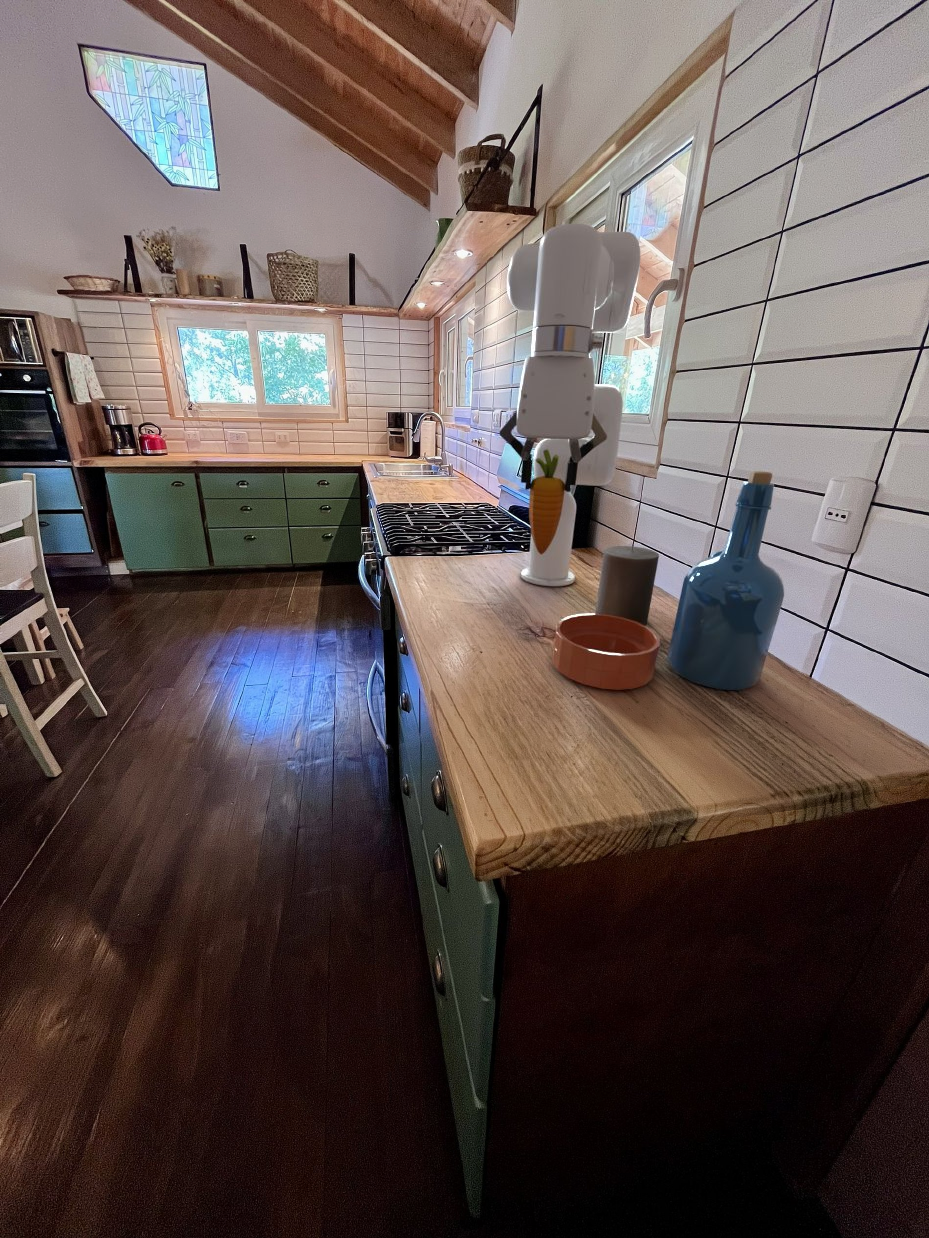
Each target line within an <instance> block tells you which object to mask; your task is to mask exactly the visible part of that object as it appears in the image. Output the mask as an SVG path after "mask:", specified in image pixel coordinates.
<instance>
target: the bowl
mask: <svg viewBox="0 0 929 1238" xmlns="http://www.w3.org/2000/svg"><path fill="white" fill-rule="evenodd" d="M554 627H555V629H554V637H553V646H552V655H551V658H552V665H553V666H554V667H555V669H556V670H557V671H558V672H559V673H560V674H562V675H563V676H565V677H566V678H568V679H570V680H572V681H575V682H577V683H580V684H581V685H586V686H589V687H594V688H598V689H604V690H615V691H621V690H632V689H637V688H640V687H642V686H645V685H647V684H648V683H650V682H651V681H652V680H653V678H654V674H655V669H656V664H657V660H658V655H659V650H660V649H659V648H660V645H661V639H660V637H659V635H658V633H656V632H655V631H654V630H653V629H651V628H650V627H649V626H645V625H643V624H641V623H638V622H636V621H633V620H629V619H626V618H622V617H617V616H612V615H605V614H595V613H578V614H573V615H568V616H566V617H564V618H562V619H560V620H559V621H558V622H557V624H555V626H554Z"/></svg>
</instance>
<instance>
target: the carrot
mask: <svg viewBox="0 0 929 1238" xmlns="http://www.w3.org/2000/svg"><path fill="white" fill-rule="evenodd" d="M543 453H544V457H545V461H546V463H544V462H543V460H541V459H540V458H537V459H536V462H537V463H539V464H540V466H541V468H542V470H543V472H544V475H545V476H542V477H537V478H535V477H534V478H533V479H531V486H530V489H529V497H528V498H529V499H528V501H529V502H528V513H529V514H528V517H529V518H528V519H529V527H530V535H531V534H532V538H533V541H534V544H535V546H536V549H537V551H538V552H539V553H540V554H543V553H544V552H545V551H546V550H547V548H548V547H549V545H550V544H551V542H552V540H553V538H554V536H555V533H556V530H557V527H558V524H559V520H560V517H561V512H562V506H563V499H564V492H565V484H564V482H563V481H562V480H561V479H559V478H556V477H553V476H554V473H555V470H556V467H557V464H558V459H559V456H557V455H554V457H553V459H552V462H551V457H550V454H549V451H548V450H544V451H543Z"/></svg>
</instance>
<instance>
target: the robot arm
mask: <svg viewBox="0 0 929 1238" xmlns="http://www.w3.org/2000/svg"><path fill="white" fill-rule="evenodd" d="M640 267H641V246H640V243H639V240H638V238H637V236H636V235H635V234H634V233H632V232H630V231H603V232H602V231H601V232H600V231H599V230H598V229H596V228H595V227H593V226H591V225H588V224H585V223H584V224H583V223H564V224H559V225H556V226H553V227H551V228H549V229H548V230H546V231H545V232H544V233H543V235H542V237H541V238H540V242H532V243H526V244H521V245H520V246H518V247H517V248H516V249H515V251H514V252H513V254H512V257H511V259H510V261H509V265H508V268H507V275H506V276H507V277H506V290H507V296H508V298H509V299H508V300H509V302H510V304H511V305H512V307H513V308H514V309H515V310H516V311H518V312H522V313H523V312H524V313H533V323H532V324H533V325H532V337H531V338H532V339H531V354H530V356H526V357H525V359H524V363H523V368H522V372H521V377H520V384H519V391H518V400H517V410H516V411H515V412H514V413H513V414H512V416H511V417H510V418H509V420H508V421H507V422H506V423H505V424H504V425H503V427H502V428H501V429H500V431H499V436H500V437H501V438H502V439H503V440H504V441H505V442H506V443H507V444H508V445H510V446H511V448H512V449H513V450H514V452H516V454H517V455H518V456H519V457H520V459H521V460H522V463H521V478H520V484H521V483H522V484H525V488H524V489H525V491H528V490H529V491H530V486H531V482H532V472H533V473H534V476H533V477H534V479H535V478H537V477H542V476H545V475H544V472H543V470H542V468H541V466H540V464H539V463H537V462H536V459H537V458H540V459H541V460H543V462H544V463H546V461H545V457H544V453H543V451H544V450H548V451H549V454H550V457H551V462H552V459H553V457H554V455H557V456H559V459H558V464H557V467H556V470H555V473H554V476H553V477H556V478H559V479H561V480H562V481H563V482H564V484H565V492H564V499H563V506H562V512H561V517H560V520H559V524H558V527H557V530H556V533H555V536H554V538H553V540H552V542H551V544H550V545H549V547H548V548H547V550H546V551H545V552H544V553H543V554H540V553H539V552H538V551H537V549H536V546H535V544H534V541H533V538H532V534H531V533H530V543H529V556H528V567H525V568H524V569H522V570H521V573H520V576H521V578H522V579H523V580H524V581H525V582H527V583H530V584H534V585H538V586H543V587H544V586H545V587H563V586H569V585H571V584H573V583H575V579H576V576H575V574H574V573H573V572H572V571H570V564H571V556H572V547H573V539H574V530H575V522H576V514H577V503H576V502H577V501H576V499H575V497H574V496H573V494H572V493H571V487H572V486H576V485H579V486H593V487H594V486H597V487H599V486H606V485H608V484H610V483H611V481H612V480H613V478H614V476H615V472H616V467H617V460H618V451H619V450H618V449H619V445H620V443H619V442H620V435H621V428H622V418H623V407H624V406H623V402H624V401H623V394H622V392H621V390H620V388H618V387H617V386H615V385H613V384H596V382H595V381H596V380H595V378H596V371H595V370H596V369H595V358H593V357H591V355H590V354H591V352H593V351H594V350H596V349H597V350H598V349H602V348H603V343H604V336H598V335H595V333H608V334H609V333H617V332H620V331H622V330H623V329H624V328H625V327H626V325H627V324H628V322H629V319H630V316H631V313H632V309H633V304H634V299H635V298H634V297H635V294H636V289H637V286H638V285H637V284H638V281H639V275H640ZM515 428H516V432H517V433H518V435H520V436H521V437H524V438H525V441H524V443H522V442H521V441H520V439H519V438H517V436H515V434H514V433H513V430H514V429H515ZM590 434H593V436H592V437H591V438H587V437H589V436H590ZM536 439H543V440H540V442H538V443H537V445H536V446H535V448H534V452H533V459H532V454H531V453H532V450H533V447H534V445H535V442H536Z"/></svg>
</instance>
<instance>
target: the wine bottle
mask: <svg viewBox="0 0 929 1238" xmlns="http://www.w3.org/2000/svg"><path fill="white" fill-rule="evenodd" d="M772 478H773V473H772V472H770V471H761V470H754V471H750V473H749V475H748V479H747V480H745V481H743V483H742V485H741V488H740V491H739V494H738V496H737V498H736V499H737V500H736V502H735V503H734V506H735V510H734V514H733V516H732V517H733V518H732V522H731V525H730V529H729V532H728V536H727V539H726V543H725V546H724V549H722V550H719V551H716V552H714V553H712V554H711V555H709V556H708V557H707V558H703V559H701V560H700V561H698V562H695V564H694V565H692V566H691V568H690V569H689V571H688V573H687V574H686V575H685V577H683V582H682V587H681V592H680V596H679V601H678V606H677V610H676V614H675V619H674V624H673V629H672V632H671V633H672V634H671V639H670V642H669V648H668V652H667V662H668V665H670V667H671V668H672V669H673V671H674V672H675V673H676V674H677V675H679V676H680V677H683V678H684V679H687V680H688V681H690V682H692V683H694V684H697V685H701V686H704V687H709V688H712V689H716V690H725V691H726V690H727V691H742V690H746V689H749V688H751V687H754V686H756V685H757V684H758V683H759V681H760V679H761V675H762V673H763V669H764V665H765V662H766V659H767V655H768V653H769V649H770V645H771V643H772V639H773V635H774V632H775V628H776V626H777V622H778V618H779V615H780V612H781V609H782V605H783V601H784V598H785V584H784V580H783V578H782V576H781V574H779V572H777V571H776V570H775V569H774V568H772V567H771V566H769V565H768V564H766V563H765V562H764V561H762V559H761V557H760V554H759V553H760V550H761V545H762V541H763V536H764V531H765V527H766V523H767V519H768V514H769V510H772V502H773V494H774V489H775V488H774V487H775V484H774V483H772Z"/></svg>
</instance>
